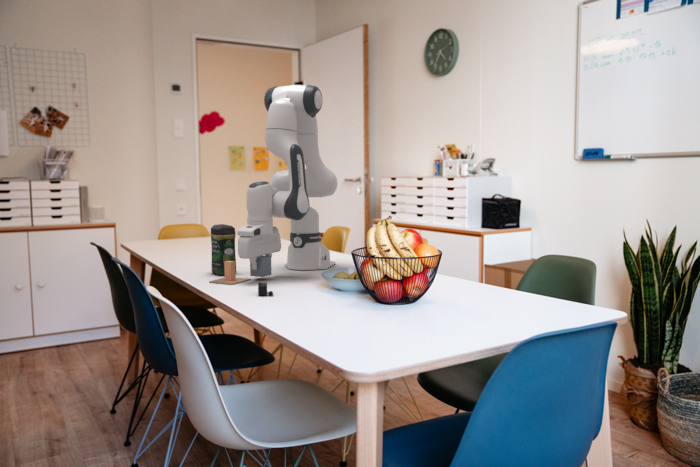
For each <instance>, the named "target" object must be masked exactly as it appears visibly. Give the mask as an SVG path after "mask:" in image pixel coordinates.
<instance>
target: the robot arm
mask: <svg viewBox="0 0 700 467" xmlns="http://www.w3.org/2000/svg"><path fill="white" fill-rule="evenodd" d="M263 102H264V107H265V109H266V111H267V116H266V124H265V134H264V135H265V137H264V139H265V144H266V148H267V149H268V150H269V152H270V153H271V154H272V155H274V156H275V157H278V158H280V159H281V160H283V161H284V162H285V164H286V166H287V168H288V169H284V170H280V171H276V172H275V173H274V174H273V176H272V178H271V183H270V182H269V181H256V182H252V183H250V184H249V185H248V188H247V190H246V210H247V219H246V220H247V221H246V223H245V224H244V225H243V226H242V227H240V228H238V230H237V236H239V237H238V239H237V254H238V257H239V258H240V259H244V260H247V259H248V260H249V263H250V262H251V264H252V269H253V270H256V269H258V264H257V263H256V260H257V256H262V255H264V256H271V259H273V258H272V257H273V254H274V253H278V252H281V250H282V249H281V248H282V243H281V242H282V240H281V236H280V232H279V229H278V227H276V226H275V225H274V223H273V222H274V220H273V218H278V219H279V218H281V219H287V220H288V219H289V220H290V233H289V241H290V244H289V245H288V248H287V256H286V257H287V259H286V260H287V261H286V263H284V267H285V268H287V269H288V270H295V271H313V270H315V271H316V270H327V269H329V268H331V267H333V266H335V265H336V264H337V262H336V261H333V260H331V255H330V250H329V248H328V247H327V246H326V245H325V244H324V243H323V242H322V238H324V237H325V234H324V232H320V218H319V217H320V216H319V213H318V211H317V210H316V209H315V208H313V207H312V206H310V199H309V198H324V197H329V196H333V195H334V193H335V192H336V191H337V188H338V179H337V176H336V175H335V173H334V172H333V171H332V170H330V168H328V167H327V166H326V165H325V163H324V162H323V160H322V157H321V156H320V155H321V154H320V150H319V149H320V148H319V137H318V136H319V134H318V132H319V130H318V129H319V128H318V120H317V114H319V112H320V111H321V109H322V108H323V107H322V106H323V94H322V91H321V90H320V88H319V87H318V86H315V85H311V84H307V85H305V84H290V85H282V86H277V85H275V86H272V87H270V88H268V89H267V91H266V92H265V93H264V98H263ZM273 225H274V226H273ZM335 263H336V264H335ZM334 264H335V265H334ZM332 265H333V266H332ZM330 266H331V267H330ZM328 267H329V268H328Z"/></svg>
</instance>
